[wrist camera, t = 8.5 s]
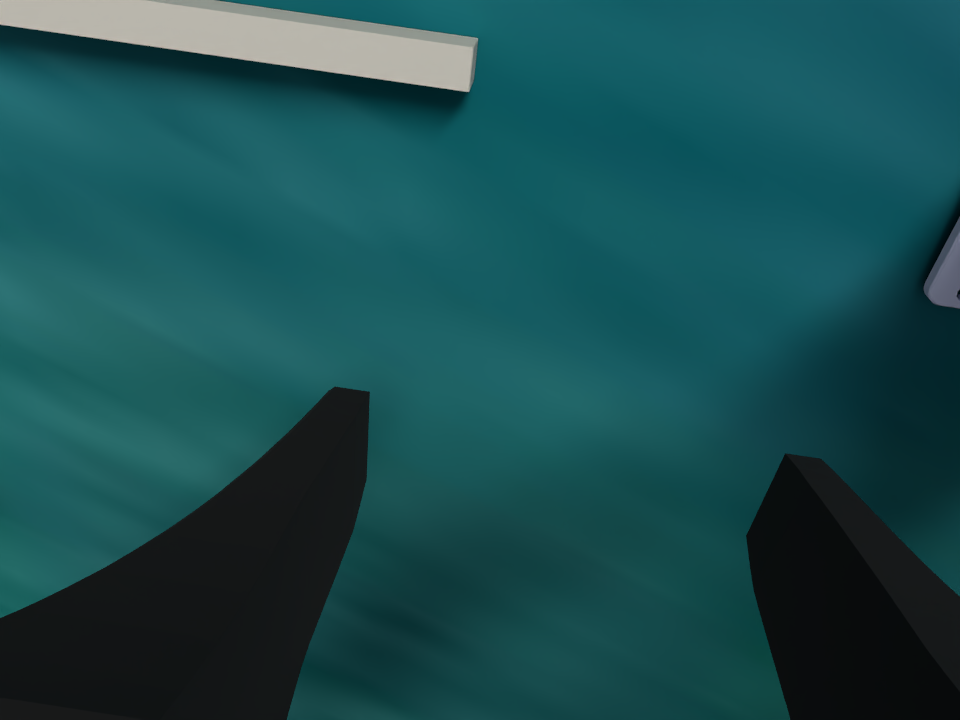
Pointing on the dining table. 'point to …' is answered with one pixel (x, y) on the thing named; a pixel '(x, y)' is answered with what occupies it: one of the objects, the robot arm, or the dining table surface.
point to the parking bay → (261, 36)
